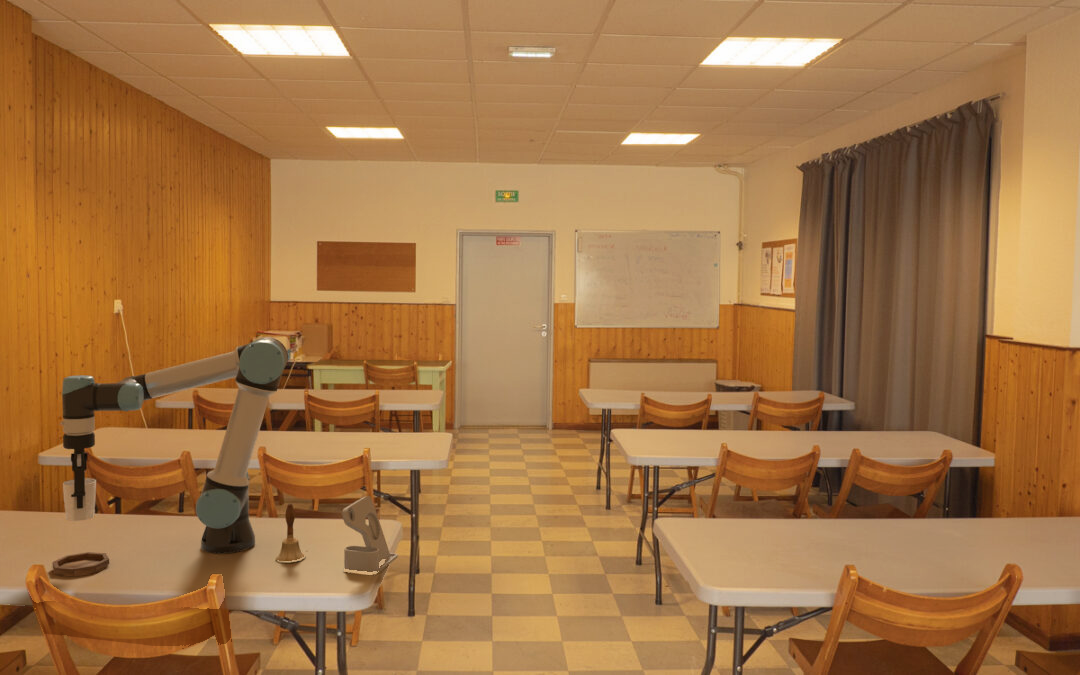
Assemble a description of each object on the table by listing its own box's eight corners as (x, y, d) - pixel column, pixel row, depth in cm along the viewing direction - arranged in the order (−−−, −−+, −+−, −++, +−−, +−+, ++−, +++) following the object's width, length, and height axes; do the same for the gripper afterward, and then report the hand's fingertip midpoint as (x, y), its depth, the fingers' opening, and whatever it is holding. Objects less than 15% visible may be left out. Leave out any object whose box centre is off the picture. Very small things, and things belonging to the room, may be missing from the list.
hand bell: (269, 561, 233) (269, 506, 231) (287, 552, 240) (287, 499, 239) (293, 565, 230) (293, 509, 229) (311, 556, 238) (311, 502, 236)
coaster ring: (118, 561, 230) (118, 554, 229) (86, 578, 217) (86, 570, 217) (76, 558, 231) (76, 551, 231) (42, 574, 219) (42, 566, 218)
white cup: (73, 523, 218) (72, 486, 217) (57, 518, 222) (56, 482, 221) (102, 516, 224) (102, 481, 224) (86, 512, 229) (86, 476, 228)
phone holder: (374, 576, 223) (374, 511, 221) (340, 573, 225) (340, 508, 223) (399, 556, 239) (399, 495, 238) (366, 552, 242) (367, 493, 240)
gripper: (64, 427, 229) (65, 507, 230) (61, 440, 211) (63, 527, 212) (94, 425, 232) (95, 504, 234) (94, 438, 214) (96, 523, 216)
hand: (80, 515), depth 223 cm, fingers closed on white cup, 7 cm apart
